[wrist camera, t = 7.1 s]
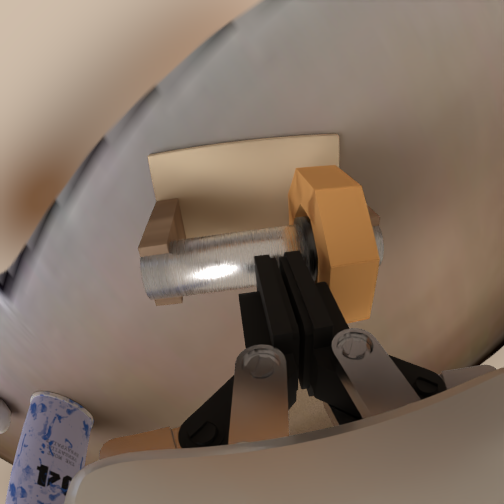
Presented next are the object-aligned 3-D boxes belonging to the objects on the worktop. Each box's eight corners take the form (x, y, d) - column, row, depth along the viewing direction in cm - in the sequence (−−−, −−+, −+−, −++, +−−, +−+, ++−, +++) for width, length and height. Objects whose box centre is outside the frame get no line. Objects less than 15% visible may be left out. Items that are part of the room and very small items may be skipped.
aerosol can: (107, 420, 28) (93, 587, 11) (74, 432, 30) (57, 572, 13) (47, 383, 24) (10, 564, 7) (22, 400, 26) (-11, 548, 9)
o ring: (286, 157, 15) (333, 212, 9) (321, 154, 15) (386, 206, 9) (290, 271, 18) (322, 359, 13) (320, 266, 18) (362, 350, 13)
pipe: (146, 225, 14) (132, 261, 11) (361, 199, 14) (390, 227, 12) (161, 279, 15) (153, 321, 13) (356, 252, 16) (381, 287, 13)
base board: (149, 154, 15) (122, 189, 11) (335, 133, 16) (384, 159, 11) (177, 279, 20) (170, 343, 15) (333, 258, 20) (365, 314, 15)
